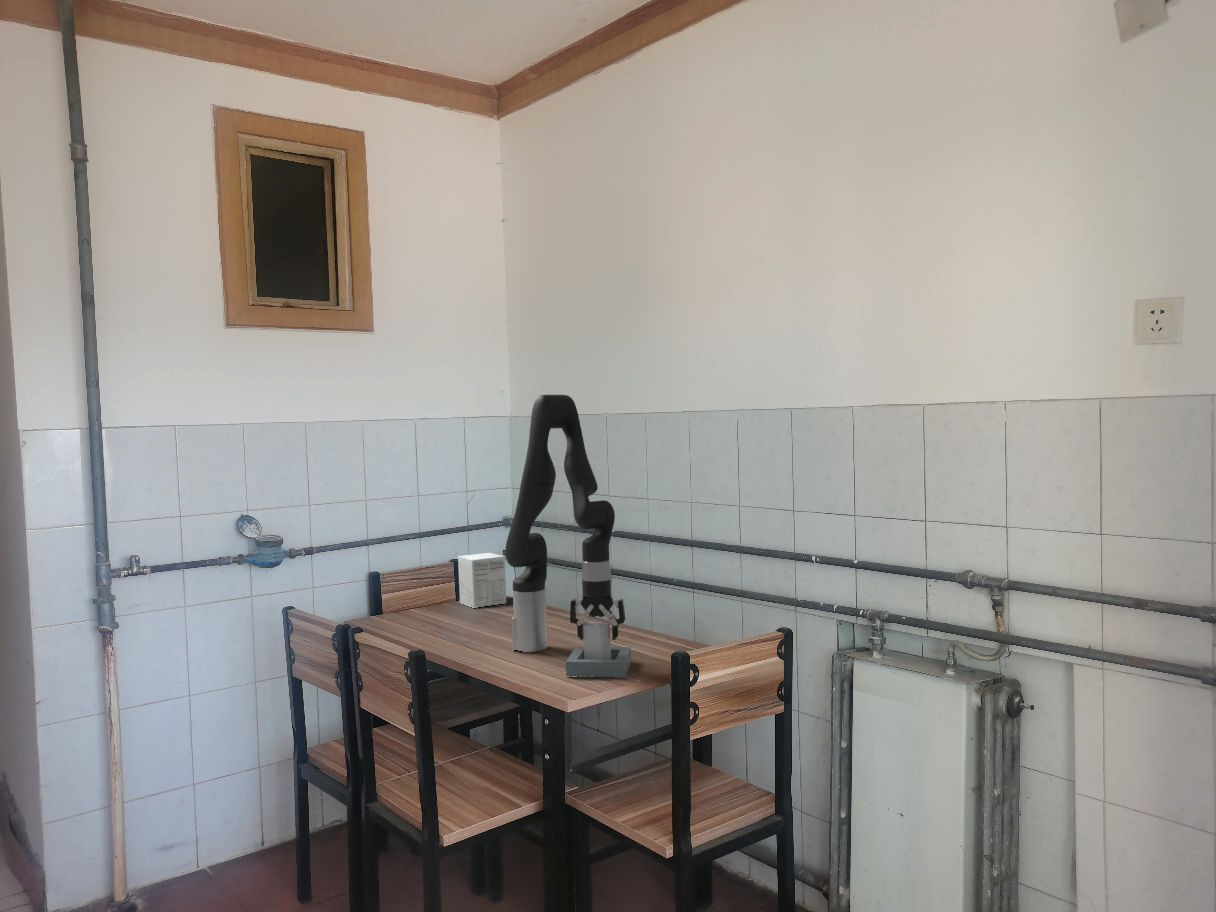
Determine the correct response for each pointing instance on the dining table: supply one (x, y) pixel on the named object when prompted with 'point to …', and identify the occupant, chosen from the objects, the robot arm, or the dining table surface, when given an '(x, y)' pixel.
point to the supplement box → (482, 579)
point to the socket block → (599, 664)
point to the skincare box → (596, 640)
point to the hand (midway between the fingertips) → (598, 639)
